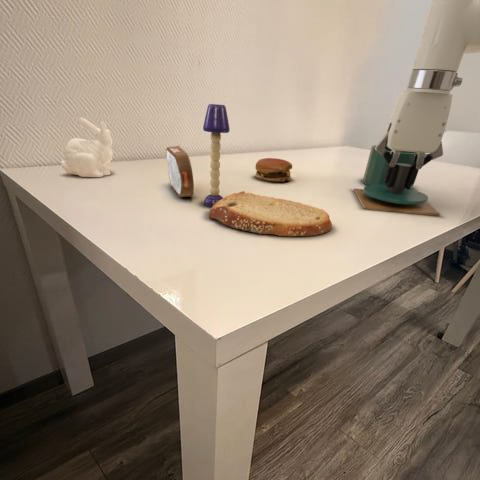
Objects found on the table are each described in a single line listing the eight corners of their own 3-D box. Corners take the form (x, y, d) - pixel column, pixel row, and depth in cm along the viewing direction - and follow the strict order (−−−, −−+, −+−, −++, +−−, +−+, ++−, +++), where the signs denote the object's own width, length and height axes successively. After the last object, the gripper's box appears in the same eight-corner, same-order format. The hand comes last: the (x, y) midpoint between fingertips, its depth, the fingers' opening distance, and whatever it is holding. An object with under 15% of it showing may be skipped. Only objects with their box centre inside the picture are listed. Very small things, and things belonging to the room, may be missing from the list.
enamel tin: (405, 181, 92) (416, 147, 87) (418, 193, 82) (431, 155, 77) (359, 177, 93) (368, 143, 88) (367, 188, 83) (377, 151, 78)
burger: (255, 173, 90) (257, 154, 87) (289, 176, 90) (292, 157, 87) (253, 182, 82) (255, 161, 79) (291, 185, 82) (294, 164, 79)
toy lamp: (203, 200, 68) (202, 102, 58) (226, 200, 68) (229, 104, 58) (203, 207, 64) (202, 104, 54) (228, 208, 64) (231, 106, 54)
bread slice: (340, 230, 57) (345, 209, 55) (254, 248, 49) (256, 224, 47) (277, 201, 69) (279, 183, 67) (200, 212, 61) (199, 191, 59)
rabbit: (115, 170, 84) (107, 115, 77) (121, 179, 78) (112, 119, 71) (63, 171, 80) (49, 113, 73) (63, 181, 73) (48, 118, 66)
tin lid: (415, 192, 78) (426, 161, 74) (434, 210, 68) (449, 174, 64) (358, 187, 80) (366, 156, 76) (368, 203, 69) (377, 168, 65)
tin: (195, 202, 66) (194, 155, 61) (179, 202, 65) (177, 155, 60) (180, 183, 78) (178, 142, 73) (166, 183, 77) (163, 142, 72)
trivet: (417, 196, 80) (417, 194, 79) (438, 216, 67) (439, 213, 67) (353, 190, 81) (354, 188, 80) (363, 209, 69) (364, 206, 68)
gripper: (467, 86, 64) (430, 186, 75) (380, 80, 65) (356, 179, 76) (485, 86, 58) (442, 195, 69) (389, 80, 59) (361, 187, 70)
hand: (397, 186), depth 72 cm, fingers closed on tin lid, 3 cm apart
